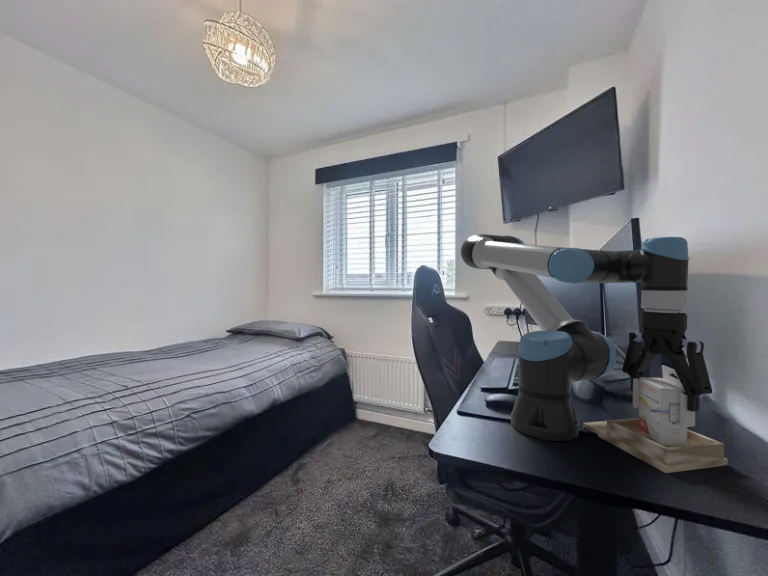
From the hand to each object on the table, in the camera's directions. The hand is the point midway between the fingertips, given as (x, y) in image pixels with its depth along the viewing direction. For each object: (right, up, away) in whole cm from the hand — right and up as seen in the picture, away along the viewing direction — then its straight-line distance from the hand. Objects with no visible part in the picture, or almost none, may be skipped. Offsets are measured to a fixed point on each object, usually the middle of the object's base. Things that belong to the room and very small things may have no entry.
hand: (661, 415), depth 71 cm
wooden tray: (-1, -8, +3) cm, 8 cm away
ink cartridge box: (0, -5, 0) cm, 5 cm away
